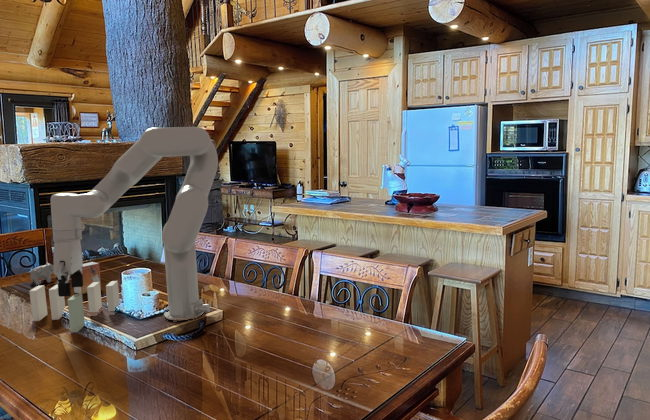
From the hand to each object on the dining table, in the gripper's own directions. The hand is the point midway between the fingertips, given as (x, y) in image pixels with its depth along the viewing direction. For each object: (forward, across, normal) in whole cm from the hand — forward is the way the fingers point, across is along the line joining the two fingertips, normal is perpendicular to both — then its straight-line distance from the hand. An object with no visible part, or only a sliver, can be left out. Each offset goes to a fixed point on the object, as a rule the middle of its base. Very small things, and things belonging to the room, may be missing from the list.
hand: (71, 291), depth 147 cm
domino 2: (+12, -13, -10) cm, 20 cm away
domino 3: (+12, 0, +1) cm, 12 cm away
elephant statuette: (+13, -61, -33) cm, 71 cm away
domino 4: (+12, -13, +2) cm, 18 cm away
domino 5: (+12, -13, +8) cm, 19 cm away
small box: (+12, -42, -10) cm, 45 cm away
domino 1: (+12, -13, -15) cm, 24 cm away
